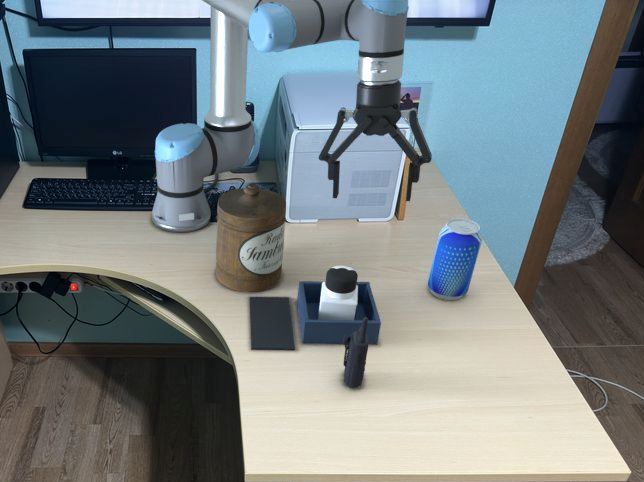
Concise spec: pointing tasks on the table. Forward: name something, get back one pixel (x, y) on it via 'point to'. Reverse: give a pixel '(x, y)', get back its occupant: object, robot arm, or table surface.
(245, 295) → the table surface
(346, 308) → the medicine bottle
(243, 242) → the wooden container
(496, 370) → the table surface
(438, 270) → the beer can
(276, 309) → the mat
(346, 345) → the two-way radio
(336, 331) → the tote
